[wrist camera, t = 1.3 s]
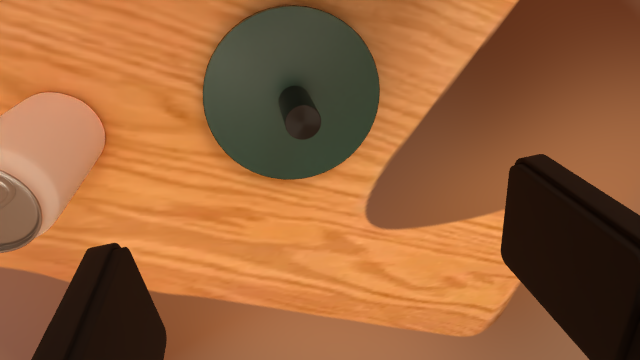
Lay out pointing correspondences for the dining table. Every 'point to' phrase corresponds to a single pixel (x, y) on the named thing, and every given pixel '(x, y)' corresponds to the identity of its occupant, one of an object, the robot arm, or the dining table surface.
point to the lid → (291, 92)
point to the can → (43, 162)
